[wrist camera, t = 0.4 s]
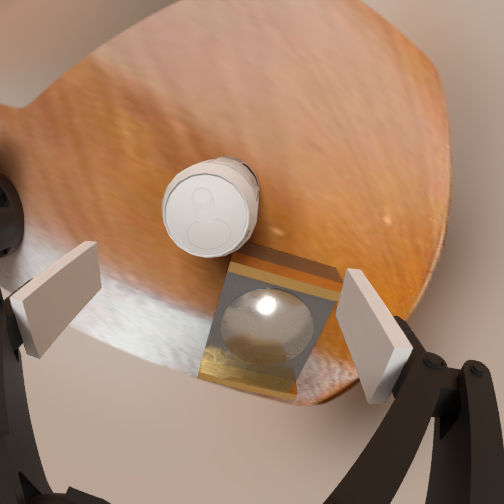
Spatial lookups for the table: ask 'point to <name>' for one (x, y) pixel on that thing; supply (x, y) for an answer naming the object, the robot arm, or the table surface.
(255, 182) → the supplement can
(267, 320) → the grey boxy piece
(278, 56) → the table surface
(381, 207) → the table surface
